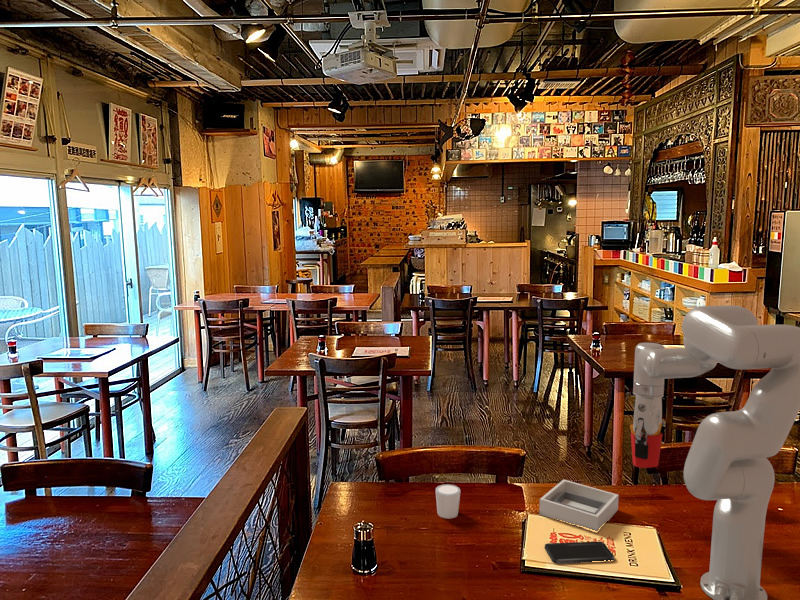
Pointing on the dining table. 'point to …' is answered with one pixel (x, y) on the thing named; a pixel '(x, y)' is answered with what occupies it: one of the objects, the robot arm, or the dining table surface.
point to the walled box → (579, 504)
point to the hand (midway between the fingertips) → (645, 453)
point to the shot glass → (447, 500)
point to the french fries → (653, 449)
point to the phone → (578, 552)
